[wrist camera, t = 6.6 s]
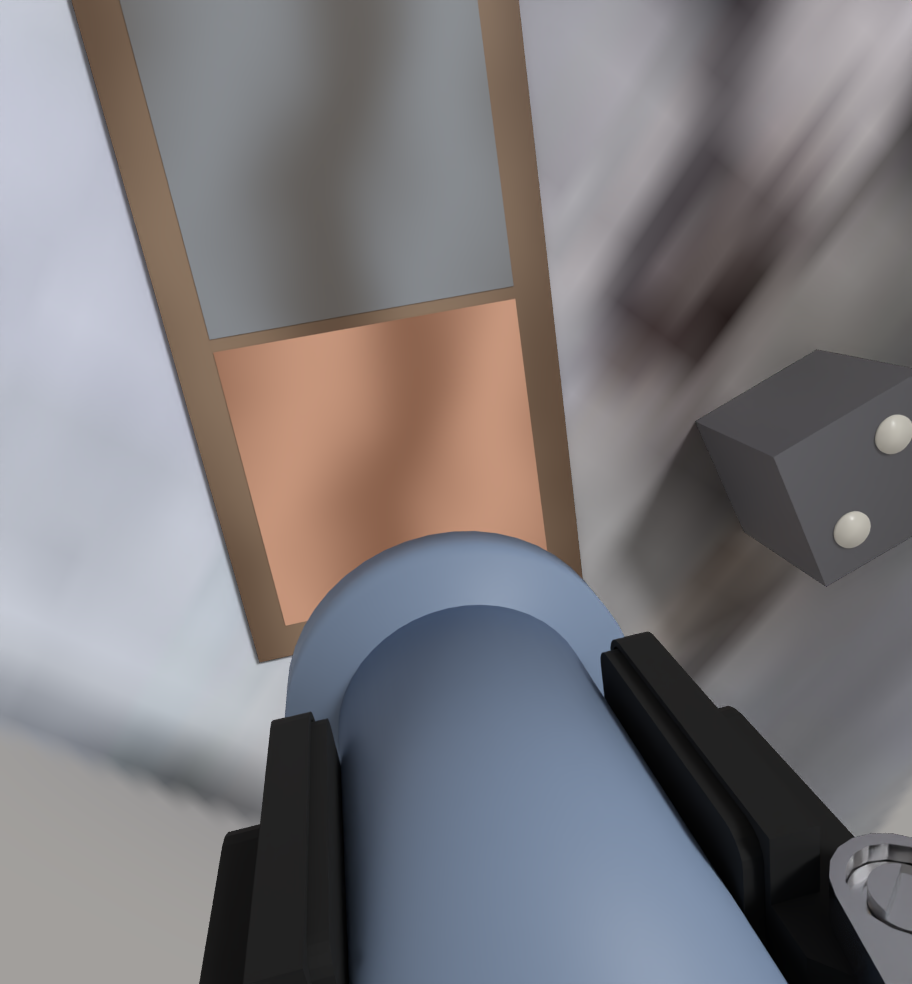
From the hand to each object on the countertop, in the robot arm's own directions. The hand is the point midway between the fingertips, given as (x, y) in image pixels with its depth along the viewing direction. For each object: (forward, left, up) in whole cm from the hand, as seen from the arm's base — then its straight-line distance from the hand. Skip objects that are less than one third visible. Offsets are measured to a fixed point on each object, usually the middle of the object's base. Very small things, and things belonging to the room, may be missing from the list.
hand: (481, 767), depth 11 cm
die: (-14, +2, -15) cm, 21 cm away
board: (0, -10, -15) cm, 18 cm away
